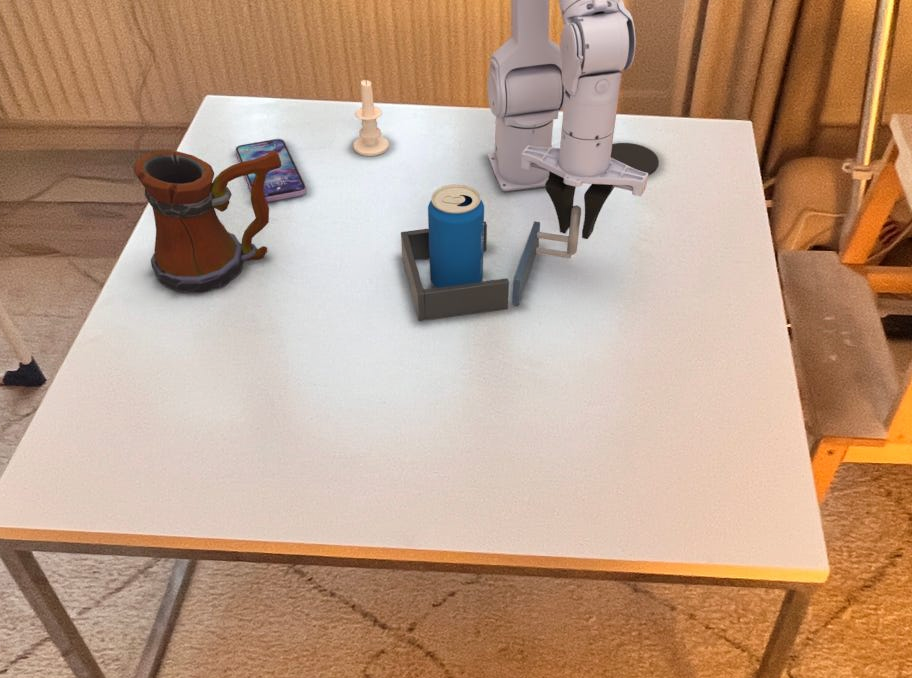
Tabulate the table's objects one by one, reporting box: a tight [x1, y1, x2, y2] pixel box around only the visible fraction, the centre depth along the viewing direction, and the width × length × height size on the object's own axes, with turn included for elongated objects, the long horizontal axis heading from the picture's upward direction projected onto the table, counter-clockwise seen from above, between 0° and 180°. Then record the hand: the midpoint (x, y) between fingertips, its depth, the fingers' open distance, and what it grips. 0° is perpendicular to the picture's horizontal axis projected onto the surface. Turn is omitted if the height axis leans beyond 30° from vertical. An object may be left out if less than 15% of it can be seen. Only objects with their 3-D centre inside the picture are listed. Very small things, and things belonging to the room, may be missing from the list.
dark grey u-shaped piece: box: [400, 220, 510, 322], centre depth 113 cm, size 11×13×4 cm
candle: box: [352, 79, 390, 157], centre depth 132 cm, size 5×5×10 cm
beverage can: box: [427, 183, 485, 288], centre depth 110 cm, size 6×6×12 cm
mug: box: [132, 150, 281, 293], centre depth 112 cm, size 18×12×15 cm, turn 102°
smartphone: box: [235, 138, 307, 203], centre depth 131 cm, size 7×1×15 cm
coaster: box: [611, 142, 659, 176], centre depth 132 cm, size 9×9×1 cm
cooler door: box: [512, 204, 582, 306], centre depth 111 cm, size 6×12×8 cm, turn 164°
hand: (576, 231), depth 112 cm, fingers closed
